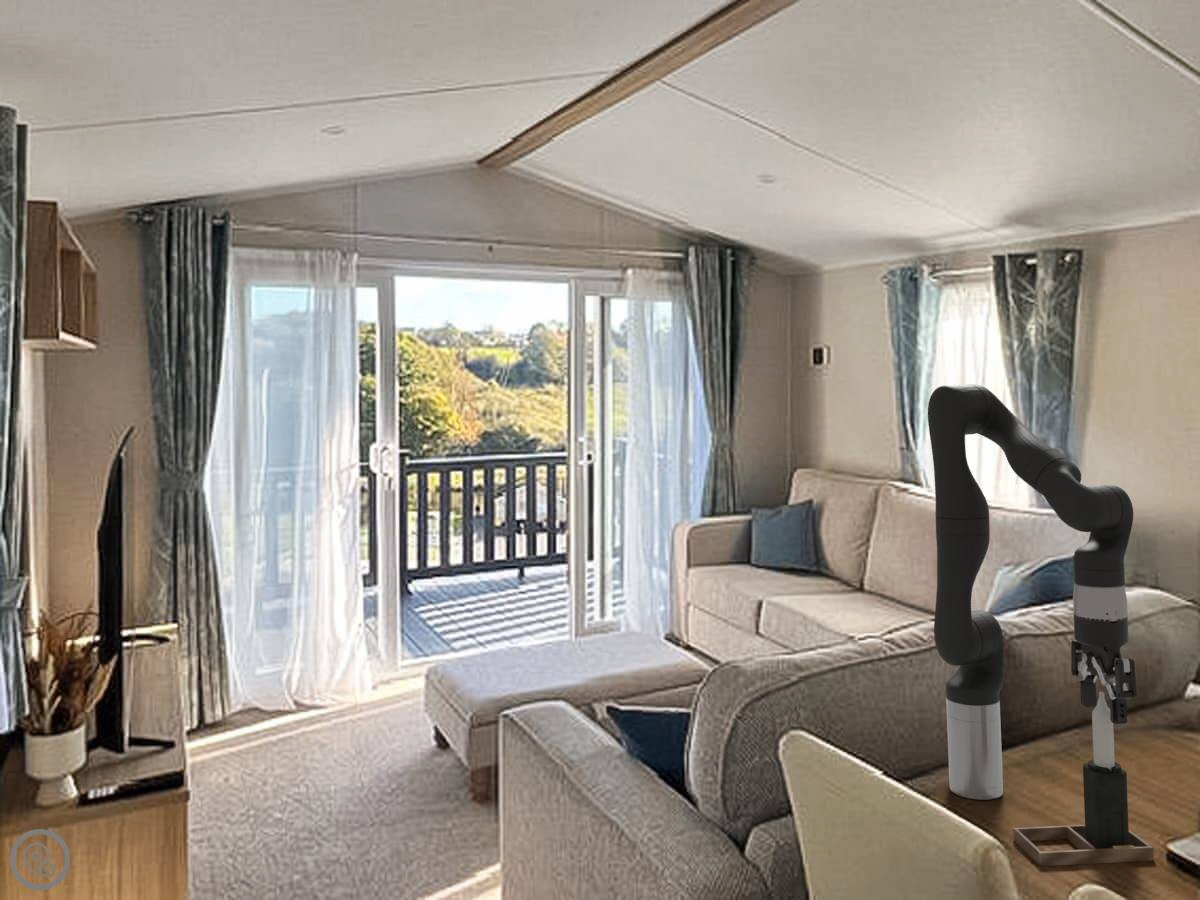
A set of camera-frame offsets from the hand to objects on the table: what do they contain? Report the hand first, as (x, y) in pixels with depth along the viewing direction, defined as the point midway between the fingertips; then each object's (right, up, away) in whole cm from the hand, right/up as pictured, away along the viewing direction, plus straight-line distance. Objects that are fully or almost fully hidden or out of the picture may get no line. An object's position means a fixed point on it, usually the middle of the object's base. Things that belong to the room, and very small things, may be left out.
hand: (1103, 714), depth 145 cm
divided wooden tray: (-3, -22, 0) cm, 22 cm away
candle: (+1, -22, +1) cm, 22 cm away
